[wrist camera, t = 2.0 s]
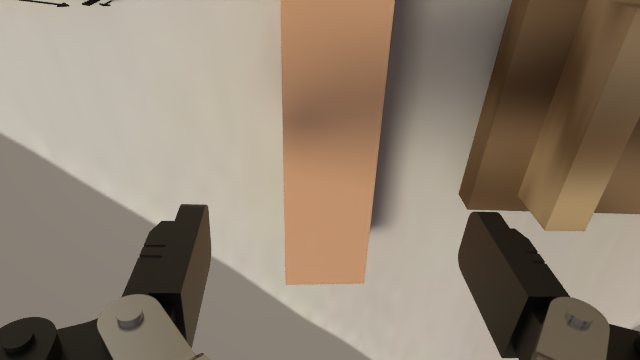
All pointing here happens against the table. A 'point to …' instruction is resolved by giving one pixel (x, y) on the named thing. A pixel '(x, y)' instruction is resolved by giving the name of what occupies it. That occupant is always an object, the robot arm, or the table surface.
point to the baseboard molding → (88, 3)
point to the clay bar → (331, 133)
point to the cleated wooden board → (561, 115)
